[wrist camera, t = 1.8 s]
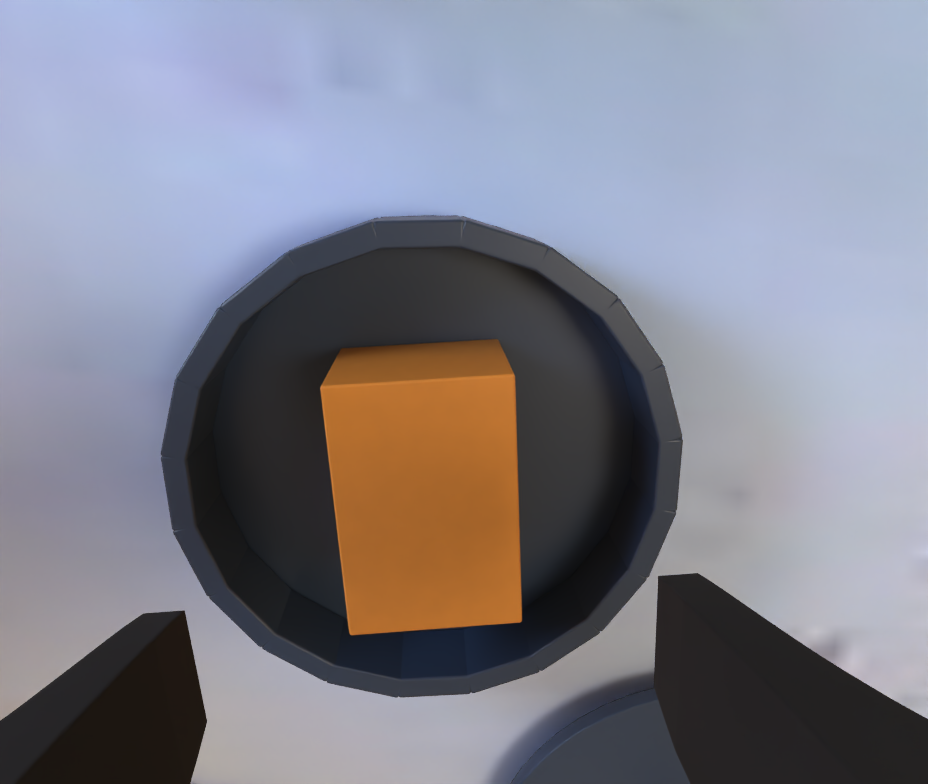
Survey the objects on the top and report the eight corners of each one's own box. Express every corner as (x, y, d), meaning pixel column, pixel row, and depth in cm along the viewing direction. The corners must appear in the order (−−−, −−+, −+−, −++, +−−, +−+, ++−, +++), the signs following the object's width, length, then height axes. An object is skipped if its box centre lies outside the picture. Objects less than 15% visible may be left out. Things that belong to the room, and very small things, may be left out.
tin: (562, 673, 21) (579, 737, 18) (161, 583, 19) (123, 640, 17) (718, 296, 17) (764, 314, 15) (252, 148, 16) (220, 142, 13)
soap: (506, 547, 19) (522, 623, 16) (362, 558, 19) (349, 636, 15) (498, 337, 17) (515, 373, 14) (340, 347, 17) (319, 386, 14)
